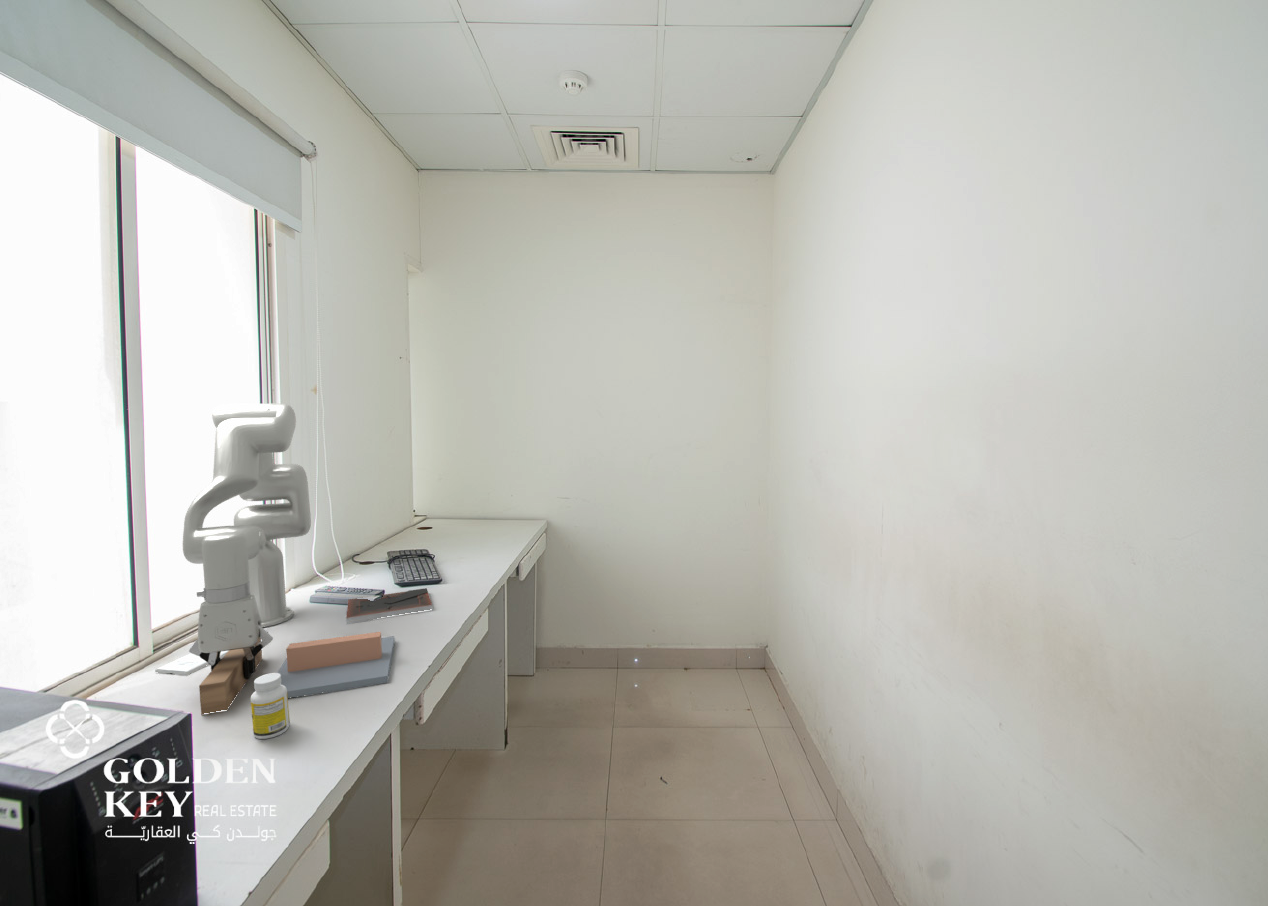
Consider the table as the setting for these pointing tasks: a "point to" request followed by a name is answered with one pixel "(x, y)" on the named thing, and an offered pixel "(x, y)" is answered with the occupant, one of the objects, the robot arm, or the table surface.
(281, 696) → the supplement bottle
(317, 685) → the ridge board
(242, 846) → the table surface
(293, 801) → the table surface
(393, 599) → the picture frame
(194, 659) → the external hard drive
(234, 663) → the walnut beam
